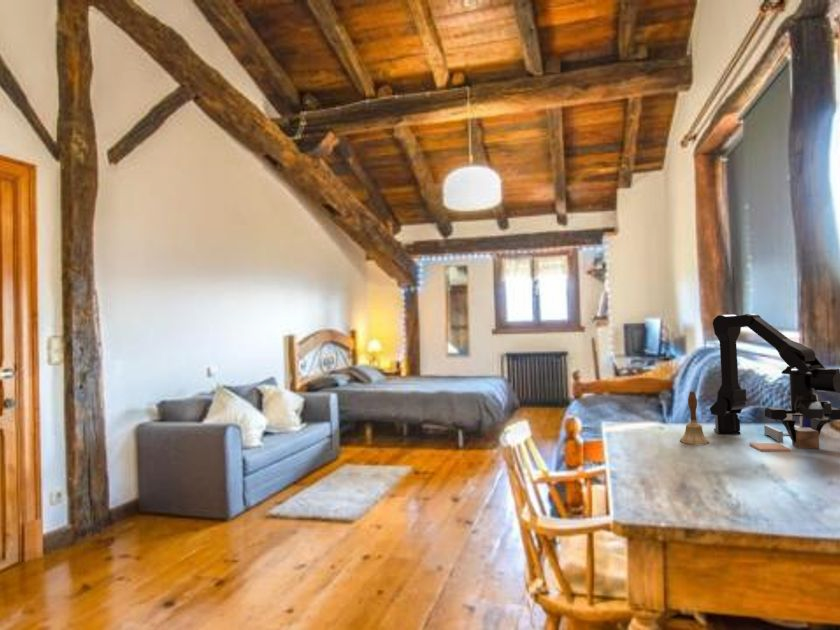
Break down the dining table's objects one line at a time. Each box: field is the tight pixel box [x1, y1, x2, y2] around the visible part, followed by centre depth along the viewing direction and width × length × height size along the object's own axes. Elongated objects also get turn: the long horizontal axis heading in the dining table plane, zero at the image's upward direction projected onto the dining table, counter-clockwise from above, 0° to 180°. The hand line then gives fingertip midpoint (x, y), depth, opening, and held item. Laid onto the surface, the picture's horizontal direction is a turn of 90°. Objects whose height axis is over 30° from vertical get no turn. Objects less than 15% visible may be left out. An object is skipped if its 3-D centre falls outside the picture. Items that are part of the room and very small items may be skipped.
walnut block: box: [791, 428, 820, 450], centre depth 161 cm, size 5×5×5 cm
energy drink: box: [799, 393, 819, 428], centre depth 183 cm, size 5×5×12 cm
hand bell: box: [679, 390, 710, 445], centre depth 173 cm, size 8×8×16 cm
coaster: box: [749, 442, 792, 453], centre depth 161 cm, size 8×8×1 cm
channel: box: [763, 424, 801, 442], centre depth 173 cm, size 9×11×3 cm
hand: (804, 442), depth 162 cm, fingers closed on walnut block, 5 cm apart
